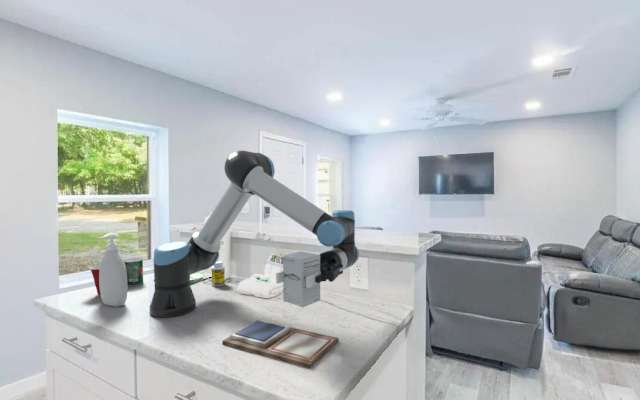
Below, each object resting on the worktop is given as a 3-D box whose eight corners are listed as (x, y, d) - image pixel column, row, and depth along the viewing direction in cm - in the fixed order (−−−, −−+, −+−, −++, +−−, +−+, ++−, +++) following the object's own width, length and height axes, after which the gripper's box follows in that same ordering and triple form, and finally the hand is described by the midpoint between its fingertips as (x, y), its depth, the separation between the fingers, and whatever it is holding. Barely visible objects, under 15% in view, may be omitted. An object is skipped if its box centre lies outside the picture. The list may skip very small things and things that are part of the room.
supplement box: (282, 301, 91) (281, 255, 91) (301, 295, 97) (301, 250, 96) (302, 308, 86) (301, 258, 86) (321, 300, 92) (321, 254, 91)
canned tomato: (120, 284, 154) (119, 260, 154) (137, 280, 161) (136, 257, 160) (129, 287, 150) (128, 262, 149) (146, 283, 156) (146, 259, 156)
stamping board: (222, 344, 95) (222, 335, 95) (258, 323, 109) (258, 316, 109) (310, 368, 82) (310, 359, 82) (338, 341, 96) (338, 333, 96)
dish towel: (218, 276, 168) (218, 271, 168) (179, 289, 147) (179, 283, 147) (192, 272, 176) (191, 267, 176) (151, 284, 155) (151, 278, 155)
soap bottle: (89, 305, 127) (86, 233, 126) (111, 298, 135) (108, 230, 133) (112, 311, 121) (110, 235, 120) (134, 304, 128) (132, 232, 127)
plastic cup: (114, 288, 149) (113, 260, 148) (125, 292, 143) (125, 263, 142) (85, 294, 140) (84, 265, 140) (97, 299, 134) (95, 269, 133)
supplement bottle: (213, 287, 148) (213, 264, 148) (210, 284, 153) (209, 261, 153) (226, 285, 151) (226, 262, 151) (222, 282, 156) (222, 260, 156)
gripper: (363, 278, 102) (329, 301, 82) (302, 270, 112) (259, 289, 92) (362, 253, 102) (328, 270, 82) (302, 247, 112) (258, 261, 92)
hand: (292, 280), depth 87 cm, fingers closed on supplement box, 8 cm apart
